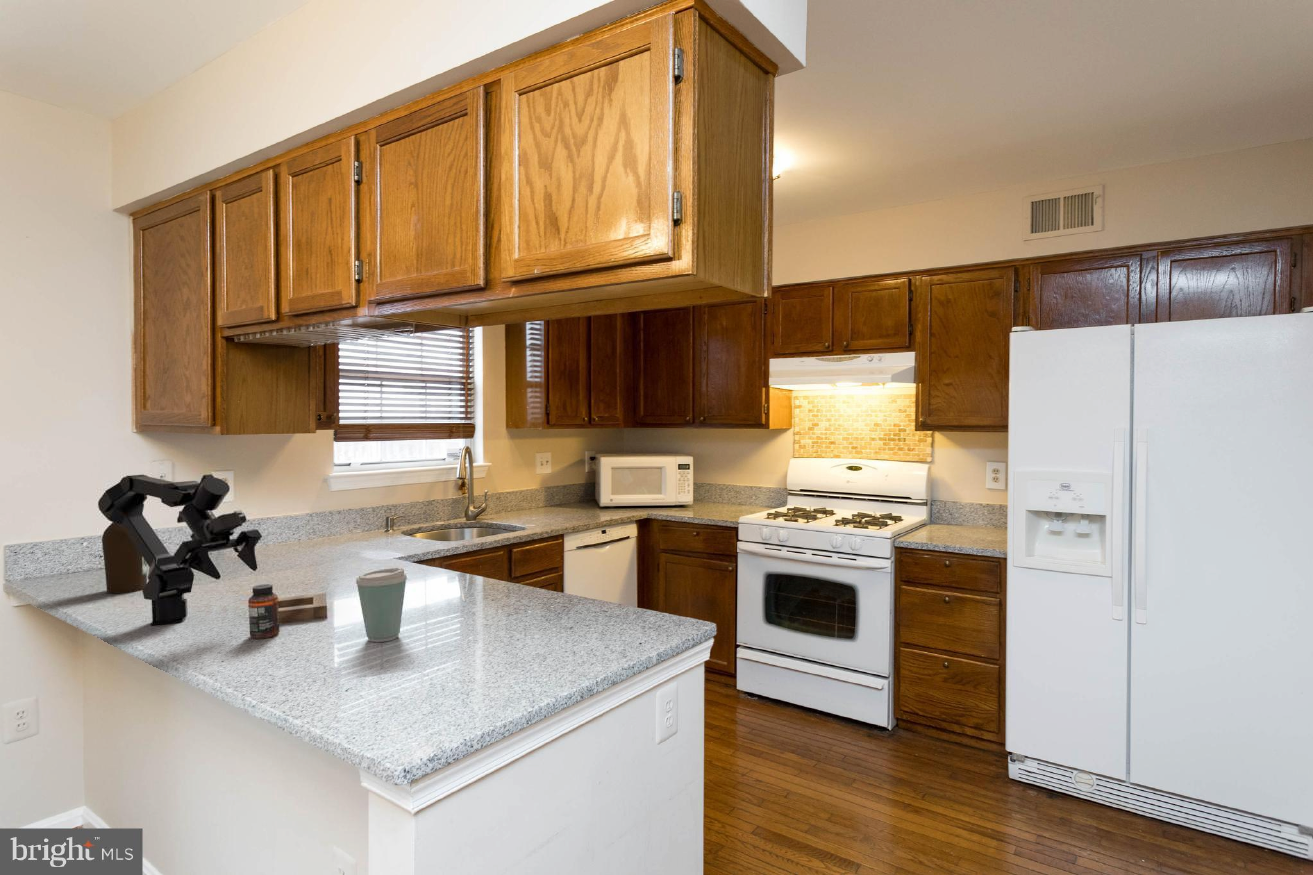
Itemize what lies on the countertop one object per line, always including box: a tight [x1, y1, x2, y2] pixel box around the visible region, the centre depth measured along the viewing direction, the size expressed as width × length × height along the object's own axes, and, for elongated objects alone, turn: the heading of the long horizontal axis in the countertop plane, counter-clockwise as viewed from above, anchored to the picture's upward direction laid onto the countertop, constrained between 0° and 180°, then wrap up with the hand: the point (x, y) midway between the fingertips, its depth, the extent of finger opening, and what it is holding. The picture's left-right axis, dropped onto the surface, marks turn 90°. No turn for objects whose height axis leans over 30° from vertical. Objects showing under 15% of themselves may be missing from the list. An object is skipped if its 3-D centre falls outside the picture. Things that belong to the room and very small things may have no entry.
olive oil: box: [101, 522, 148, 595], centre depth 210 cm, size 11×11×25 cm
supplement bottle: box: [247, 583, 280, 640], centre depth 163 cm, size 6×6×11 cm
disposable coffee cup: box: [355, 567, 408, 643], centre depth 160 cm, size 11×11×15 cm
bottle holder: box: [278, 592, 328, 625], centre depth 181 cm, size 14×14×3 cm
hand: (238, 573), depth 166 cm, fingers open, 9 cm apart
